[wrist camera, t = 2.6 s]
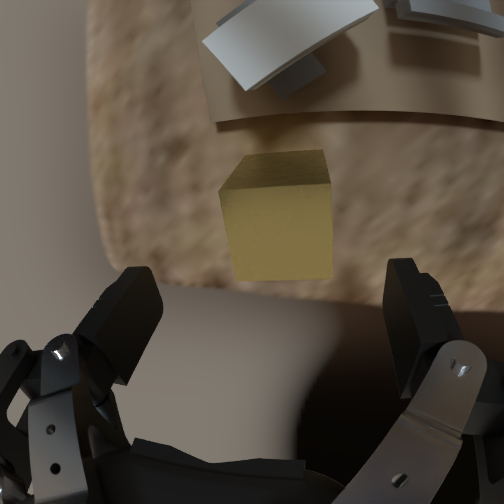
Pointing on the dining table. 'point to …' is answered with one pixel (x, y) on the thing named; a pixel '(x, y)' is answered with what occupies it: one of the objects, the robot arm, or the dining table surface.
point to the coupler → (279, 217)
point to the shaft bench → (351, 56)
